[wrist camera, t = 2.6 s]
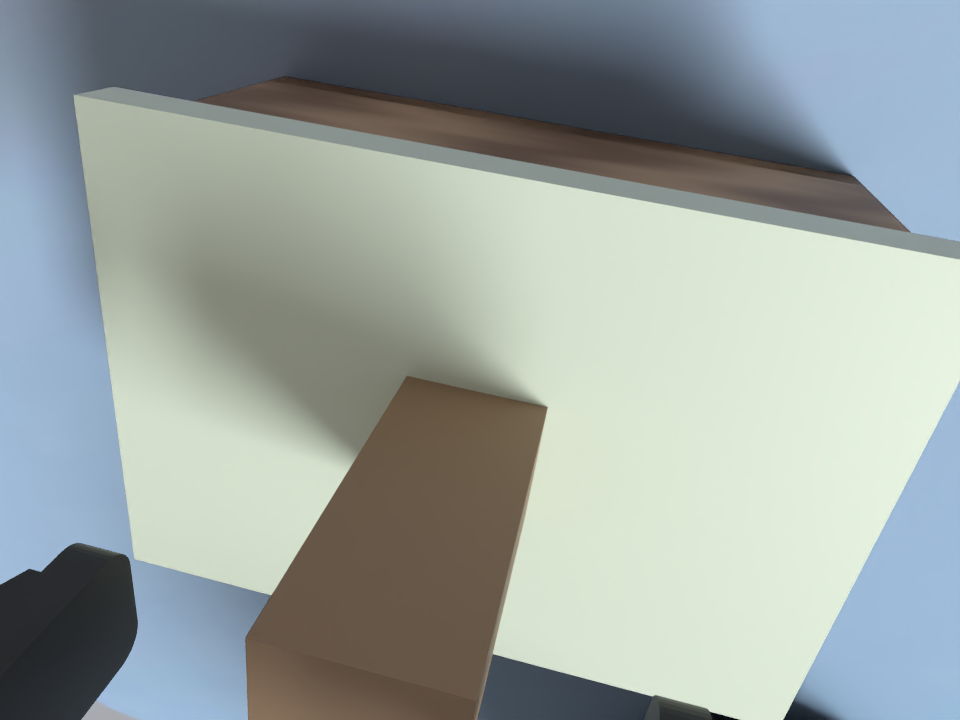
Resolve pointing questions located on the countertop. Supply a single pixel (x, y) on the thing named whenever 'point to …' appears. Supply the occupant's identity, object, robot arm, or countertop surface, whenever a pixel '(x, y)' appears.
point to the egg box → (566, 148)
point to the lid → (499, 408)
